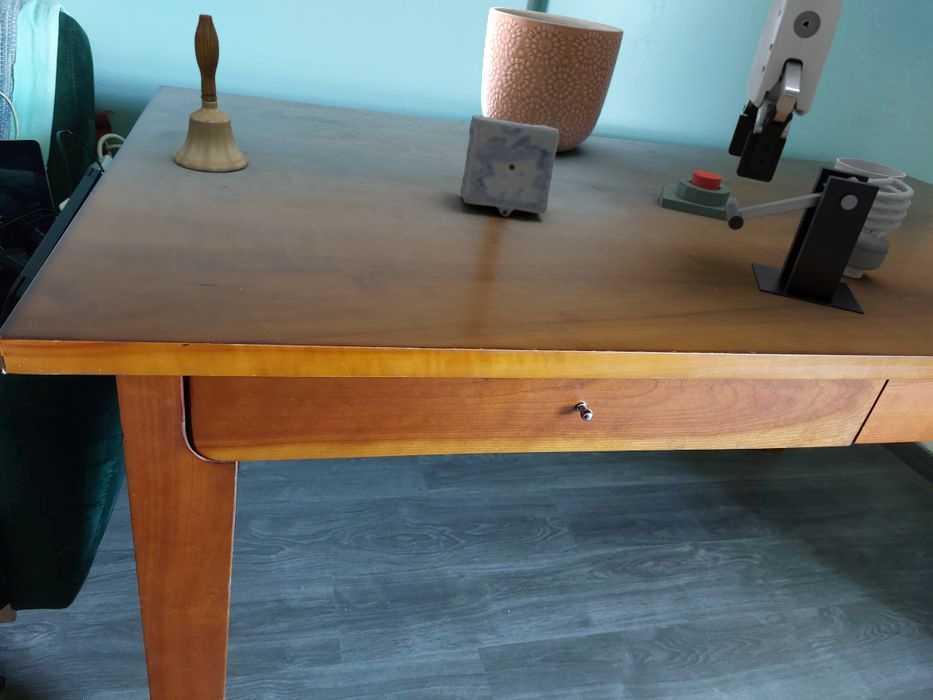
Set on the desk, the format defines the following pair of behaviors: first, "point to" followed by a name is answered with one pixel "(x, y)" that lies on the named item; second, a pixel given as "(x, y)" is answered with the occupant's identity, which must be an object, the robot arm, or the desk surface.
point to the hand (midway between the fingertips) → (747, 167)
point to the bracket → (823, 243)
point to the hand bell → (209, 114)
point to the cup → (869, 173)
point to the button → (706, 180)
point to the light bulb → (879, 226)
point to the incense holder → (509, 165)
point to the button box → (696, 199)
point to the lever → (770, 208)
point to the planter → (548, 71)
